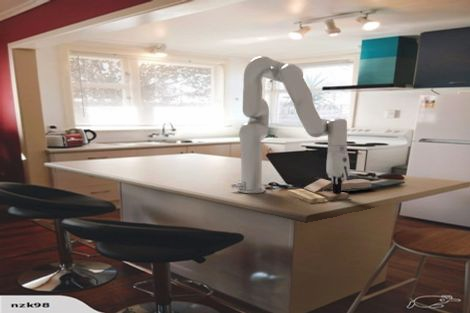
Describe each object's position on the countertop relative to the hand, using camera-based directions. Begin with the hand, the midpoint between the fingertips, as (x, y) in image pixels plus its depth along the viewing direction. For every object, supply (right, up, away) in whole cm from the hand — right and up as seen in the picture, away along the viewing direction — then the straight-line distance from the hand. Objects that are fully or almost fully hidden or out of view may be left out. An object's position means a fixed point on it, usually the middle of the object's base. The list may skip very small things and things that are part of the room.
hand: (337, 192), depth 146 cm
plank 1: (-6, +1, +8) cm, 10 cm away
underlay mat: (-7, -2, +3) cm, 8 cm away
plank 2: (-2, -2, 0) cm, 3 cm away
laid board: (-13, -2, +1) cm, 13 cm away
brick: (+12, -1, +17) cm, 20 cm away
